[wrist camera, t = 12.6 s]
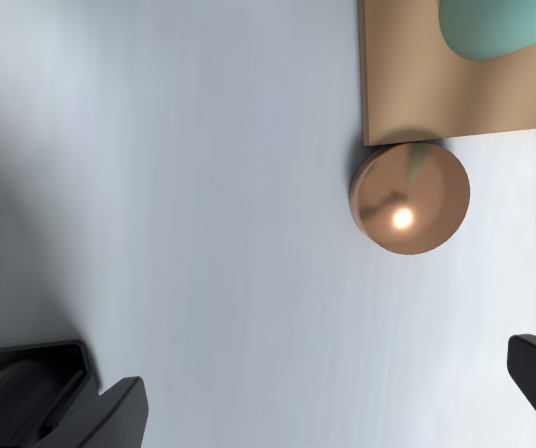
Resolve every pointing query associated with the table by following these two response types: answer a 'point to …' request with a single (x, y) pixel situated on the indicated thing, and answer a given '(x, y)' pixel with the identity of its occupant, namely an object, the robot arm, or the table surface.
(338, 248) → the table surface
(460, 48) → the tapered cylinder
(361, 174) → the copper dome
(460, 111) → the board
